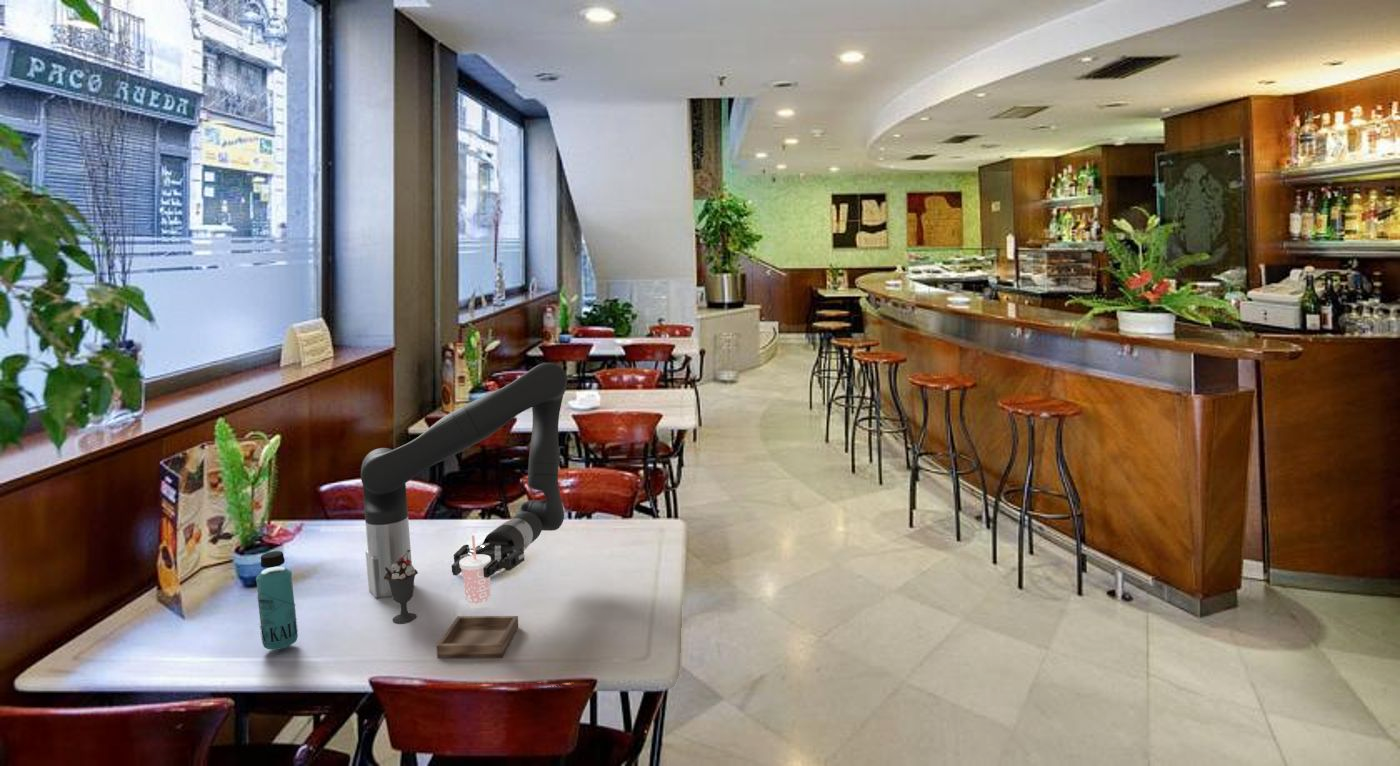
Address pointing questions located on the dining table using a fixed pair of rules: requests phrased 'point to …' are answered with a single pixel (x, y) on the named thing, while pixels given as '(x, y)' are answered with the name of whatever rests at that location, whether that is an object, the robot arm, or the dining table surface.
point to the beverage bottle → (276, 602)
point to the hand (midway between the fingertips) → (469, 571)
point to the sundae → (402, 587)
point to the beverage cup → (475, 578)
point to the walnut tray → (478, 637)
